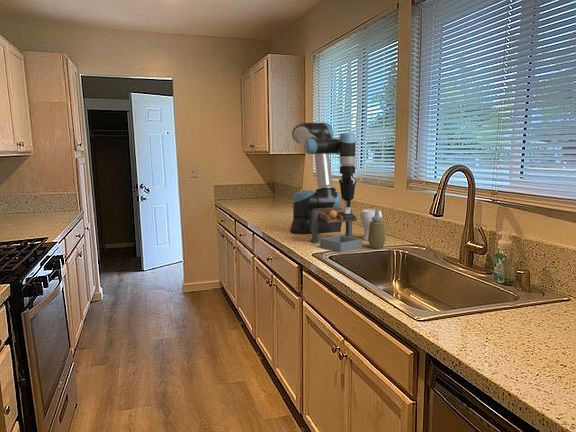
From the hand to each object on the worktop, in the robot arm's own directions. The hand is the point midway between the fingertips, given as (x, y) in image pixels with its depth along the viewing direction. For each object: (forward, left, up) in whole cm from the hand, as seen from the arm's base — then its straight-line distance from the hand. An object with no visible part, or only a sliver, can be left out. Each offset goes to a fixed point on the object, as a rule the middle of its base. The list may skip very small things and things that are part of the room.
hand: (347, 213), depth 207 cm
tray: (+6, -10, -15) cm, 19 cm away
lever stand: (-9, -2, -15) cm, 17 cm away
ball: (-2, -8, 0) cm, 8 cm away
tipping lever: (-10, -2, -13) cm, 16 cm away
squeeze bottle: (+16, +3, -15) cm, 22 cm away
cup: (+2, +15, -15) cm, 21 cm away
